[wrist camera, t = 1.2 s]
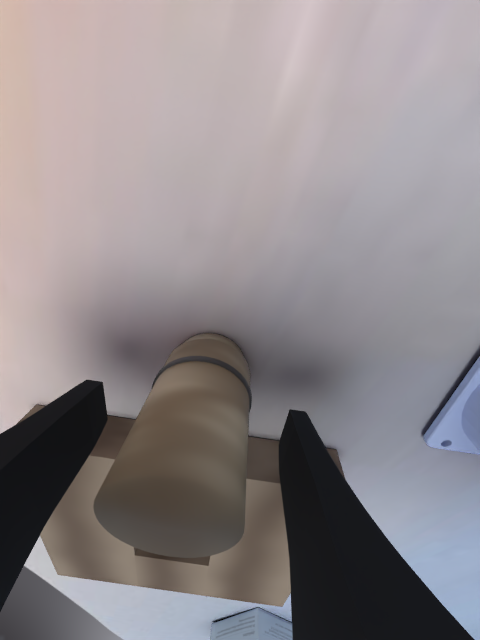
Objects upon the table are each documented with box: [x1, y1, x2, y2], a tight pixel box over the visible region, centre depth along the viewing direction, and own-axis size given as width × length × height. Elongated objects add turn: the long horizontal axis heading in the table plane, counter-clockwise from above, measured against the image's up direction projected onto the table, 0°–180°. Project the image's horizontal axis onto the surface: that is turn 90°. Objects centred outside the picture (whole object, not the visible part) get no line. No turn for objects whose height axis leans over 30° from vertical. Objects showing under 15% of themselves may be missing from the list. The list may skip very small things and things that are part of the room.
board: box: [17, 405, 345, 607], centre depth 18 cm, size 18×16×2 cm
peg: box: [93, 333, 251, 558], centre depth 10 cm, size 4×4×7 cm
